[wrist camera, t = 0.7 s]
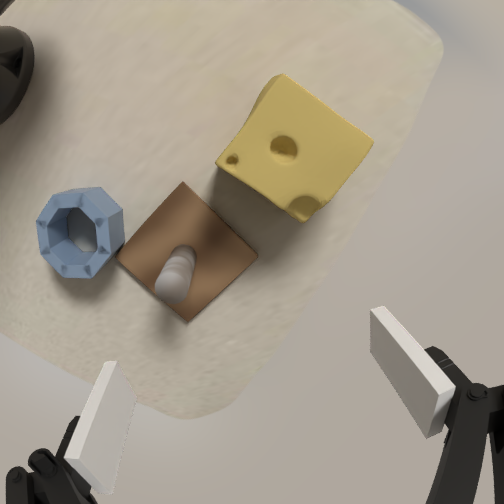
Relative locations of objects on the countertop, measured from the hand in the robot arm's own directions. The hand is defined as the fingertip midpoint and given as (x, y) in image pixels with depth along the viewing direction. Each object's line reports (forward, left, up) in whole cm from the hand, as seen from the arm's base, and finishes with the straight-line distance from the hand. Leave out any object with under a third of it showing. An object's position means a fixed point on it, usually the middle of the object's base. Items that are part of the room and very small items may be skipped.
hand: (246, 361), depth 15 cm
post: (-3, -5, -23) cm, 24 cm away
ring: (-14, -11, -23) cm, 29 cm away
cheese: (-4, +11, -23) cm, 26 cm away
